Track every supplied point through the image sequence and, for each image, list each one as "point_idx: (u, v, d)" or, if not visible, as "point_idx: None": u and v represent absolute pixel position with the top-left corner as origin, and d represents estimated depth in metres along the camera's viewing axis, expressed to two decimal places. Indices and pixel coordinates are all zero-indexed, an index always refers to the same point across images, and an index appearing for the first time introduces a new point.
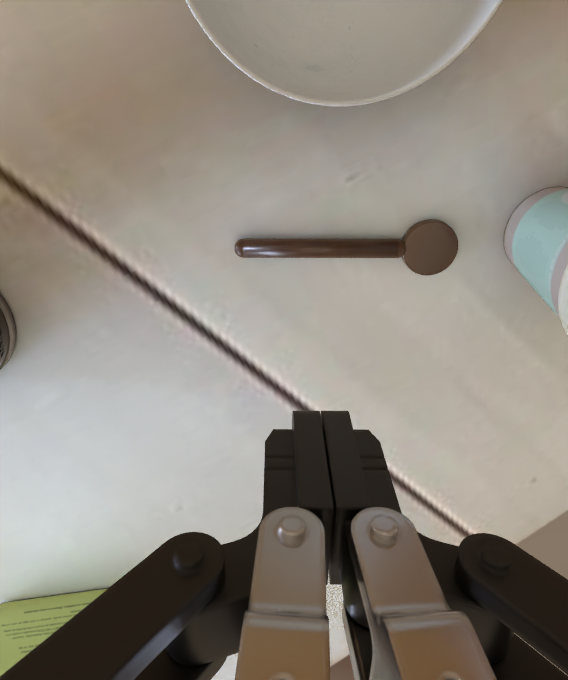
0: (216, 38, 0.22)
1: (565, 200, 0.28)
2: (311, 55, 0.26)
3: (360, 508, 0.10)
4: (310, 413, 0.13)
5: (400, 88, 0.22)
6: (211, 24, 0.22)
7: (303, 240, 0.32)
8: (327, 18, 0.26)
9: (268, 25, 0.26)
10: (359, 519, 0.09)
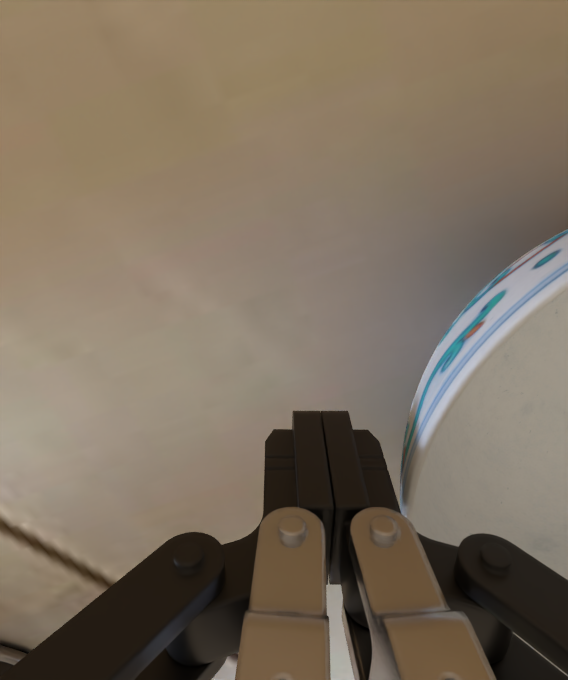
0: None
1: None
2: (535, 515, 0.18)
3: (360, 508, 0.10)
4: (310, 413, 0.13)
5: None
6: None
7: None
8: (553, 454, 0.19)
9: (479, 482, 0.18)
10: (359, 519, 0.09)
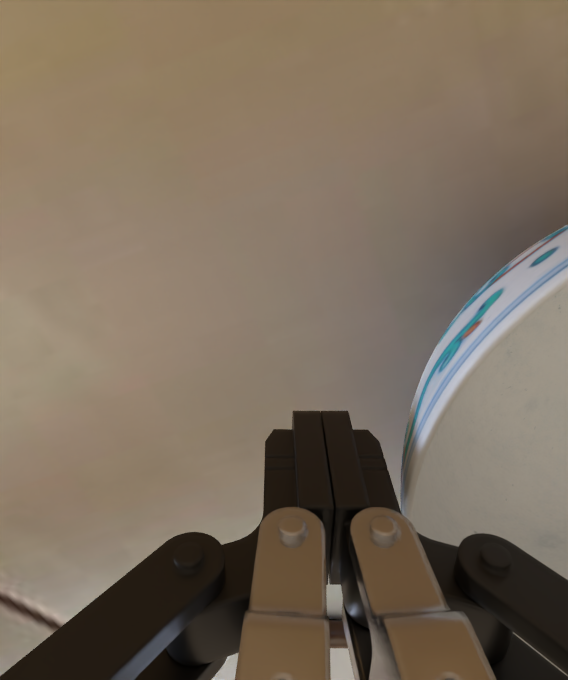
0: None
1: None
2: (540, 512, 0.18)
3: (359, 508, 0.10)
4: (310, 413, 0.13)
5: None
6: None
7: None
8: (558, 450, 0.19)
9: (483, 480, 0.18)
10: (358, 519, 0.09)
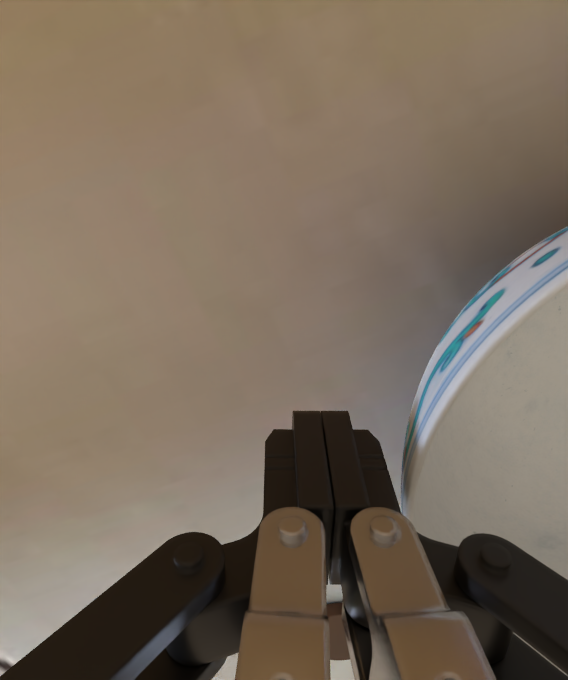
0: None
1: None
2: (539, 512, 0.18)
3: (360, 508, 0.10)
4: (310, 413, 0.13)
5: None
6: None
7: None
8: (557, 452, 0.19)
9: (482, 480, 0.18)
10: (359, 519, 0.09)
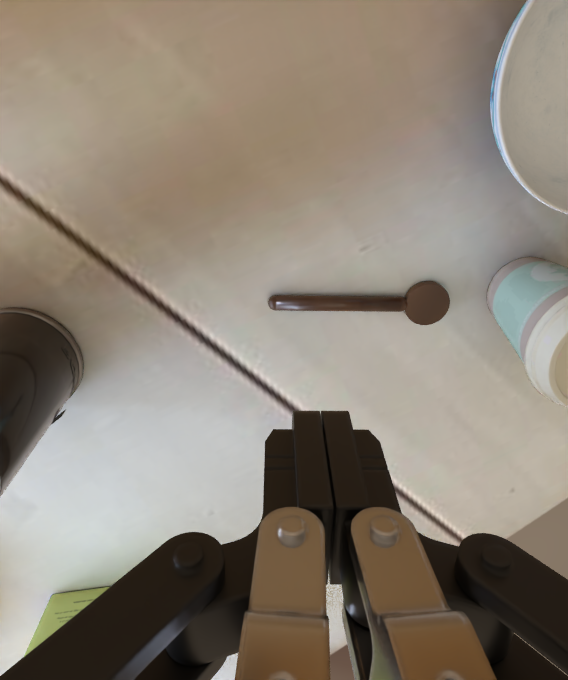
0: (519, 173, 0.29)
1: (533, 275, 0.35)
2: (552, 168, 0.34)
3: (360, 508, 0.10)
4: (310, 413, 0.13)
5: None
6: None
7: (324, 297, 0.40)
8: (562, 139, 0.34)
9: (522, 147, 0.33)
10: (359, 519, 0.09)
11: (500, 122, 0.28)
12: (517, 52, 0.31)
